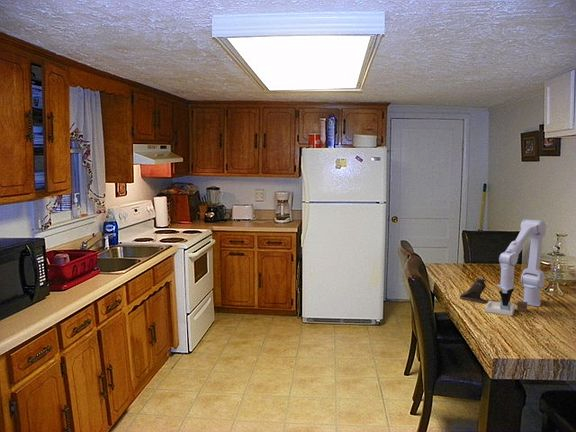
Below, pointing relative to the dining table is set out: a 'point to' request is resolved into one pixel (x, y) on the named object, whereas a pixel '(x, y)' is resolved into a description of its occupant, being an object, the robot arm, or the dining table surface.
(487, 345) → the dining table surface
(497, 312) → the dish
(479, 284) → the sculpture
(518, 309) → the walnut block
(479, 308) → the dining table surface
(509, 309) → the gray block
